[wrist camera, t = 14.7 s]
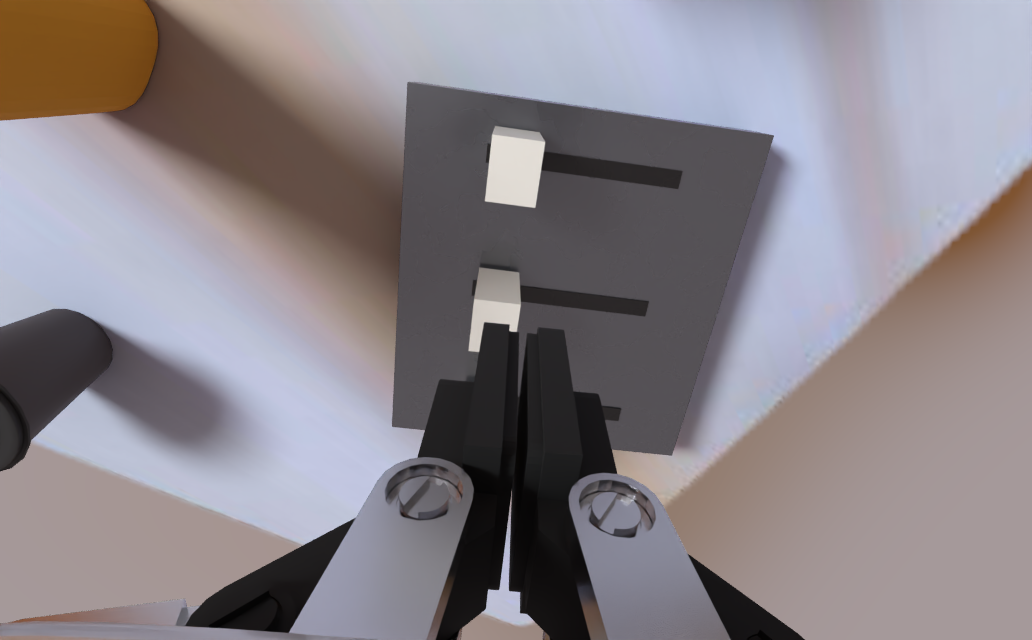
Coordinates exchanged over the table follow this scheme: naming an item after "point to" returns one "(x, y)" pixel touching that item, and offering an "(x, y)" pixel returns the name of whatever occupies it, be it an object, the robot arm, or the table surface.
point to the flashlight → (74, 56)
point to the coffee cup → (44, 373)
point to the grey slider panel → (572, 249)
